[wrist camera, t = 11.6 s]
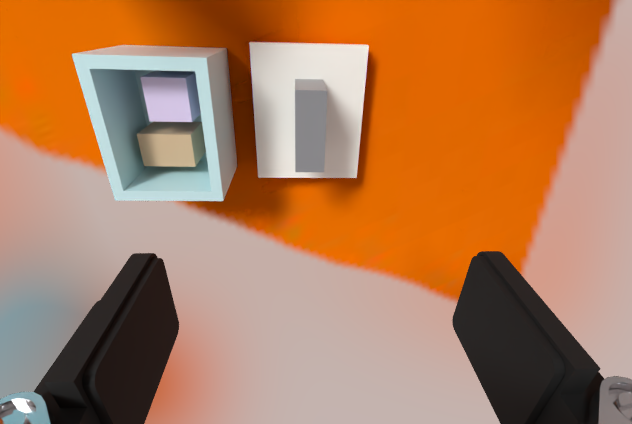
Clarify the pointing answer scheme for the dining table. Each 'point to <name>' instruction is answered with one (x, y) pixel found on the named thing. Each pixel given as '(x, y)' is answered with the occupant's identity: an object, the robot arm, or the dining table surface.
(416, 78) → the dining table surface
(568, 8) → the dining table surface
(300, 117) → the lid
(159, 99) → the tub
